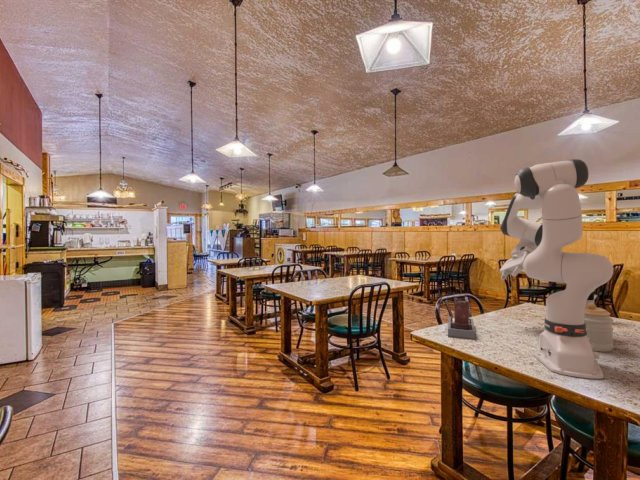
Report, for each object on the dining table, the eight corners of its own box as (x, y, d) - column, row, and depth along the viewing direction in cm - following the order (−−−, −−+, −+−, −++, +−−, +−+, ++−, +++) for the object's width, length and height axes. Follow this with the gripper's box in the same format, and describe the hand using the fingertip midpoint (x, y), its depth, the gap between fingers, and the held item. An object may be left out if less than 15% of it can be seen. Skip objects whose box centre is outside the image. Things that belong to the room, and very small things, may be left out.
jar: (568, 346, 129) (569, 303, 128) (573, 338, 138) (573, 298, 138) (612, 355, 120) (613, 308, 119) (613, 346, 129) (614, 302, 129)
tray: (475, 339, 139) (475, 331, 139) (448, 336, 143) (447, 328, 143) (472, 325, 159) (472, 318, 159) (449, 323, 164) (449, 316, 164)
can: (471, 333, 144) (471, 302, 144) (457, 333, 145) (456, 302, 145) (466, 329, 150) (466, 299, 150) (452, 329, 151) (452, 299, 151)
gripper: (504, 256, 163) (490, 277, 160) (528, 245, 143) (513, 269, 140) (516, 263, 162) (502, 285, 159) (541, 253, 142) (526, 277, 139)
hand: (507, 277), depth 149 cm, fingers open, 8 cm apart
